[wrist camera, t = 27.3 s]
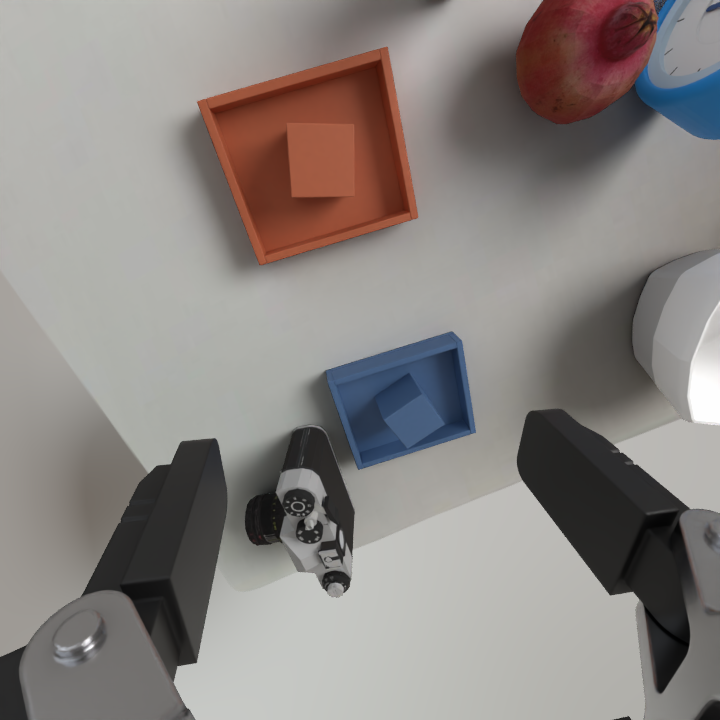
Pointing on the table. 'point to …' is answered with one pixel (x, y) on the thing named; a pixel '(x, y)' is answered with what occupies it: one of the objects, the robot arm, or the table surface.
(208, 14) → the table surface
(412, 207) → the terracotta tray
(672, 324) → the bowl
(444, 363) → the blue tray
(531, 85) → the fruit
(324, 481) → the camera
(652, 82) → the alarm clock
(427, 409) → the blue block
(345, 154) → the terracotta block
